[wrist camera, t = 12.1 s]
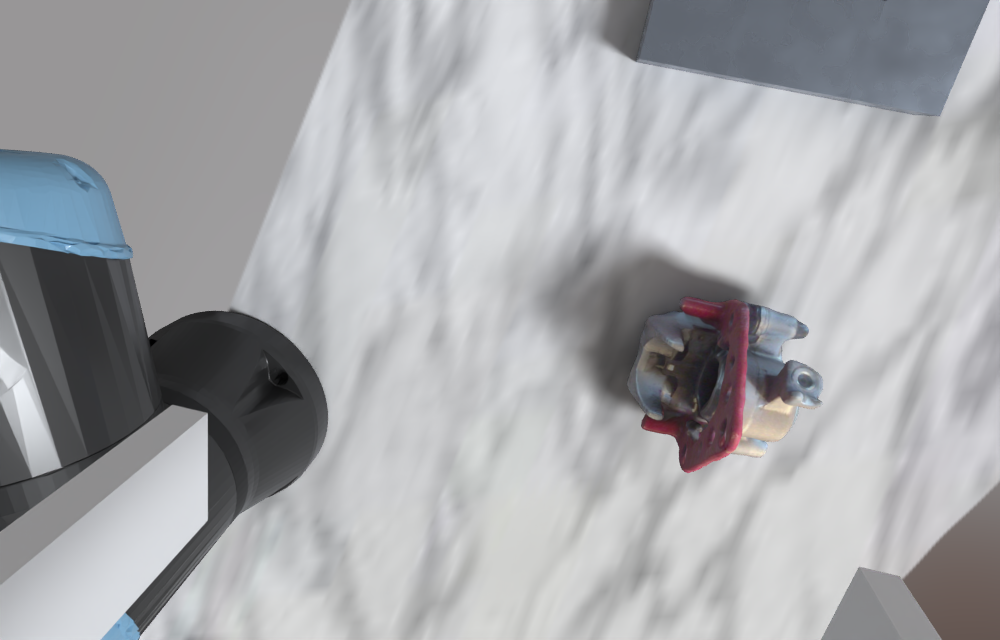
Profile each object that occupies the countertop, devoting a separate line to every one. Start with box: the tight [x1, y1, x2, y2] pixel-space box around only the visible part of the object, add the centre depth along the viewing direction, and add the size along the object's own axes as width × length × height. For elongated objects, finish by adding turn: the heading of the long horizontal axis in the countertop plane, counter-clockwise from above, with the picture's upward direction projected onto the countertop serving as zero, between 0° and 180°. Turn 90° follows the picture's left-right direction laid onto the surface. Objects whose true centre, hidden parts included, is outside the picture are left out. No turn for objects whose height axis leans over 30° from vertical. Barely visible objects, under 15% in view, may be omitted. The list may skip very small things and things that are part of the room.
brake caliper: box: [627, 297, 823, 473], centre depth 37 cm, size 11×11×12 cm
